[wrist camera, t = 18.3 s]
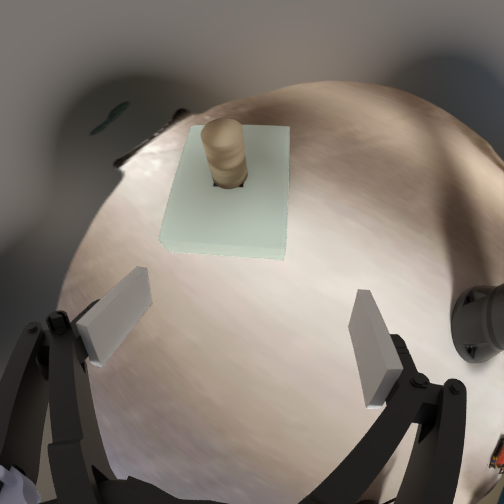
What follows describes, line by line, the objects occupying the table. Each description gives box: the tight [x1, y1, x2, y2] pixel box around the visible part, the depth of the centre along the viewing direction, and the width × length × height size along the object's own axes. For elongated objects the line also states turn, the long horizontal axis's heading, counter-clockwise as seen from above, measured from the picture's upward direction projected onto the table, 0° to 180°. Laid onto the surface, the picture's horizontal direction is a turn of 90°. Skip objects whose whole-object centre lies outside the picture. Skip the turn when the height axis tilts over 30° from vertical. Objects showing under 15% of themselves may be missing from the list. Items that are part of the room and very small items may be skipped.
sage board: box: [158, 125, 290, 260], centre depth 47 cm, size 20×26×5 cm
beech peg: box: [200, 118, 248, 189], centre depth 42 cm, size 6×6×15 cm
